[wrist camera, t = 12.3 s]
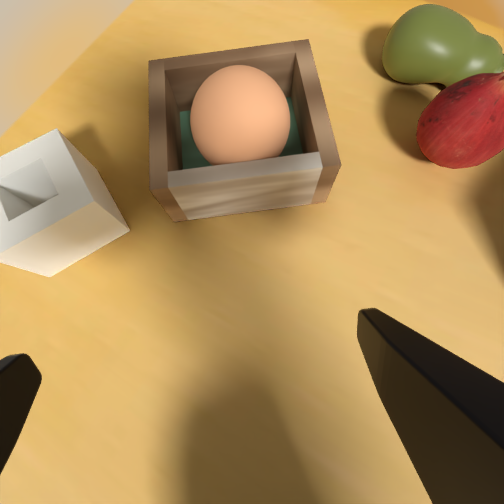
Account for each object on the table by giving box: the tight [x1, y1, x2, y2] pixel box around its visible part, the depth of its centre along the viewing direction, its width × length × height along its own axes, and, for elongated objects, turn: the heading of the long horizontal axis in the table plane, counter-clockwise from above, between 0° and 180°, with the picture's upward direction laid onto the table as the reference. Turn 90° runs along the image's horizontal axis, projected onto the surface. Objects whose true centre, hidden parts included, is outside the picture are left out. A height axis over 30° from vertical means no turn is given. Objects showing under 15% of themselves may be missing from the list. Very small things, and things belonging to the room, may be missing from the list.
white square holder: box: [0, 128, 130, 277], centre depth 21 cm, size 7×7×5 cm
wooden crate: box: [149, 39, 341, 222], centre depth 22 cm, size 11×12×5 cm
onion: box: [416, 72, 504, 169], centre depth 20 cm, size 6×6×8 cm
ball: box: [190, 65, 290, 166], centre depth 20 cm, size 7×7×7 cm
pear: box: [382, 4, 504, 88], centre depth 24 cm, size 6×5×10 cm
